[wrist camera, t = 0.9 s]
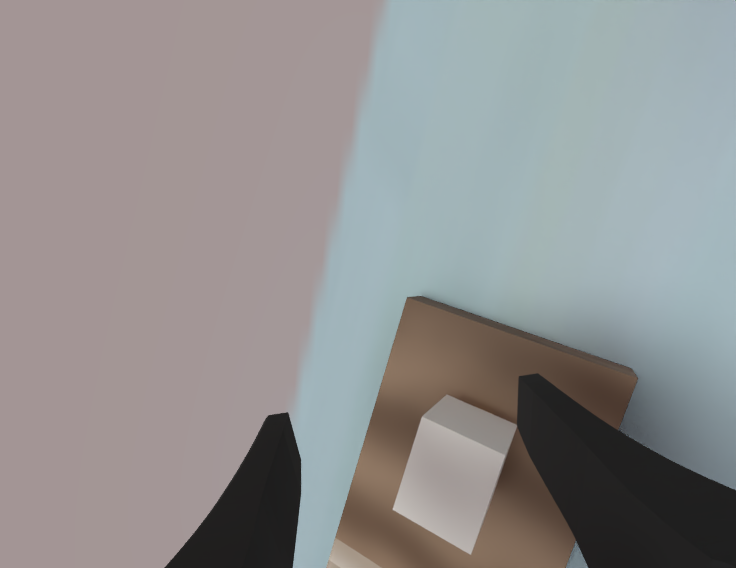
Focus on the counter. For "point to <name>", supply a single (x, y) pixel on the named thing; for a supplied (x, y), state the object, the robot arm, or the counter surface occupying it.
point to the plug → (454, 470)
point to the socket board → (490, 393)
